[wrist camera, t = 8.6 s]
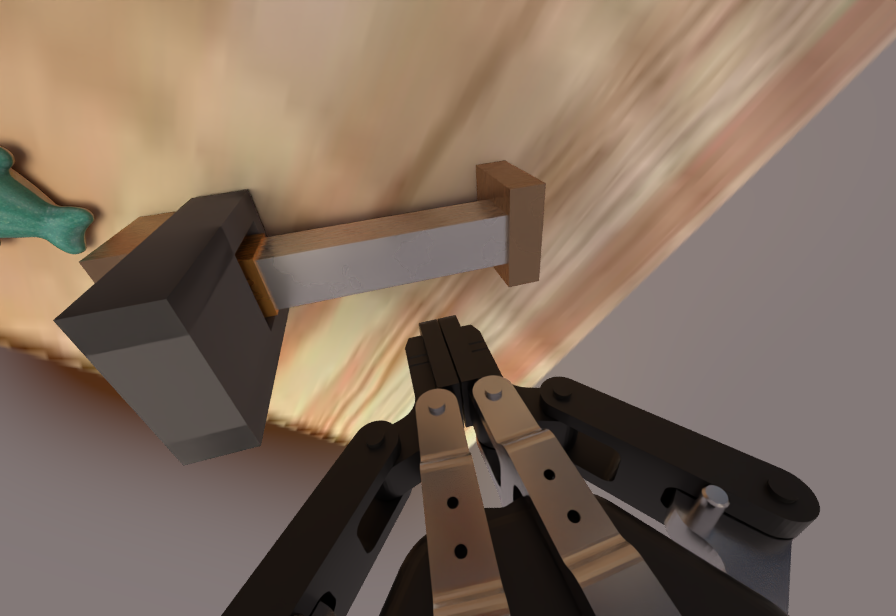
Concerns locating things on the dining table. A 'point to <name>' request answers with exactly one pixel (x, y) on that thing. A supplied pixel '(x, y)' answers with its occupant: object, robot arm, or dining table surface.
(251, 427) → the collar
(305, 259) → the grey bar with endplates
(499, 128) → the dining table surface
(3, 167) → the whale figurine
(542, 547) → the robot arm
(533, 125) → the dining table surface
